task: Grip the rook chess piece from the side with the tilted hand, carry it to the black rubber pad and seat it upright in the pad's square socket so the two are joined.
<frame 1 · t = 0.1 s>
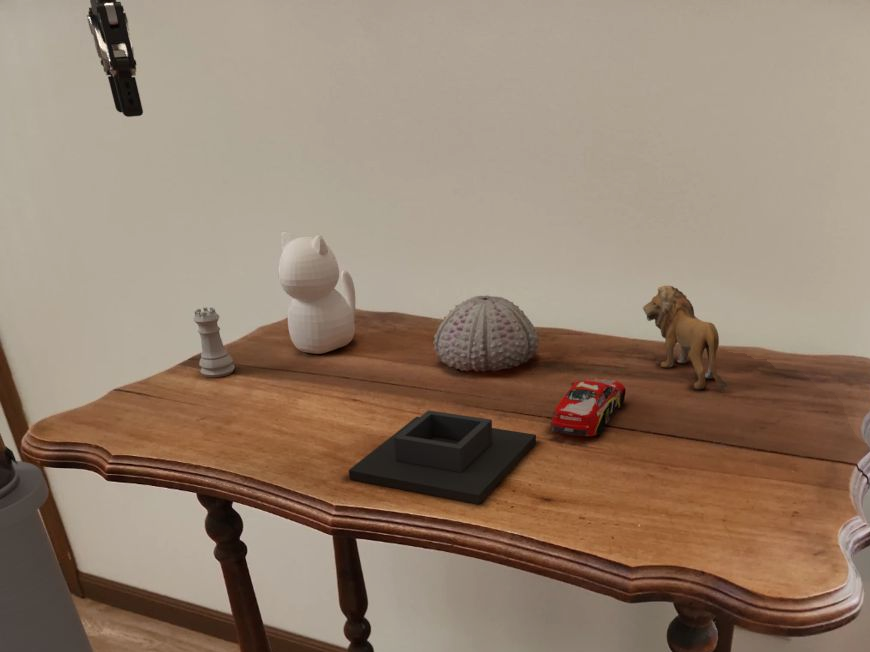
hand: (129, 113, 95), 29 cm above the table, tool pointing down, fingers open, 8 cm apart
lion figurine: (681, 373, 98), on the table
sea urchin shell: (487, 363, 104), on the table
cat figurine: (328, 346, 113), on the table
race car: (589, 419, 88), on the table
socket pad: (445, 460, 81), on the table
rook chess piece: (218, 373, 106), on the table
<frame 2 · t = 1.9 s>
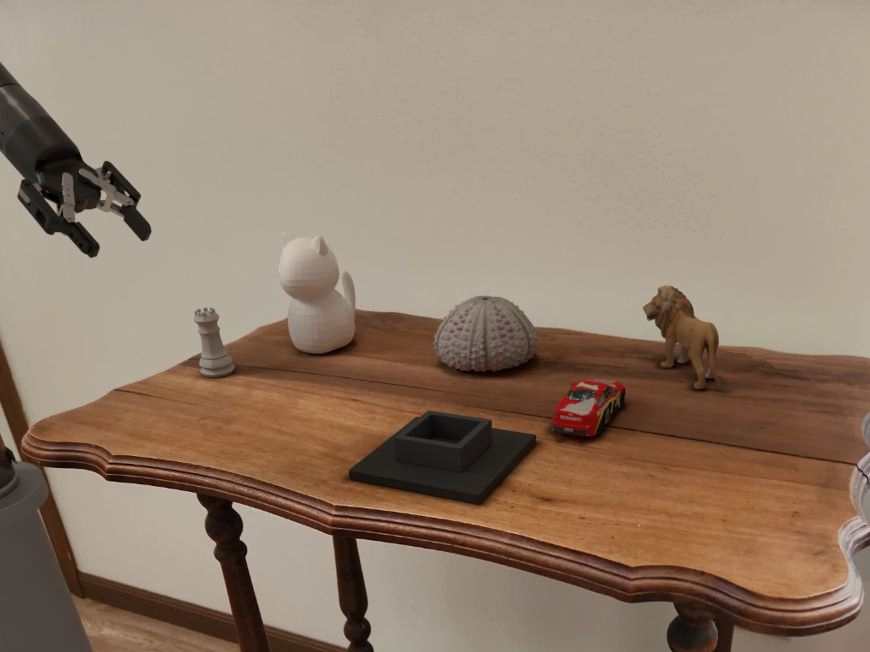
hand: (122, 244, 102), 15 cm above the table, tool tilted 45°, fingers open, 8 cm apart
nothing on the table moved.
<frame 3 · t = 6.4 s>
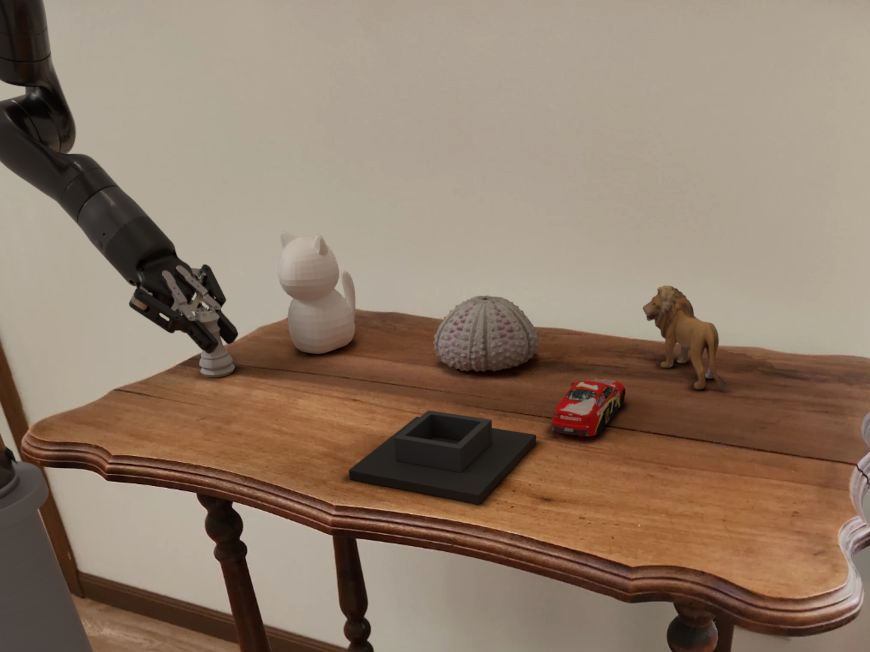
hand: (224, 343, 103), 4 cm above the table, tool tilted 45°, fingers closed on rook chess piece, 3 cm apart
rook chess piece: (218, 373, 106), on the table, touching gripper
everything else where it was.
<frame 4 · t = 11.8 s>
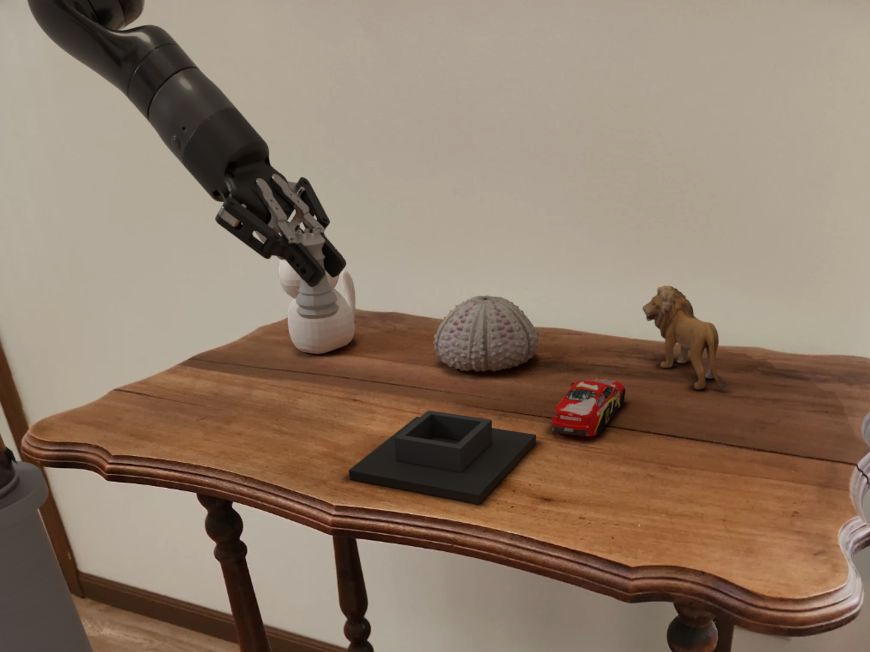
hand: (329, 275, 81), 16 cm above the table, tool tilted 45°, fingers closed on rook chess piece, 3 cm apart
rook chess piece: (318, 315, 85), point 12 cm above the table, touching gripper
everything else where it was.
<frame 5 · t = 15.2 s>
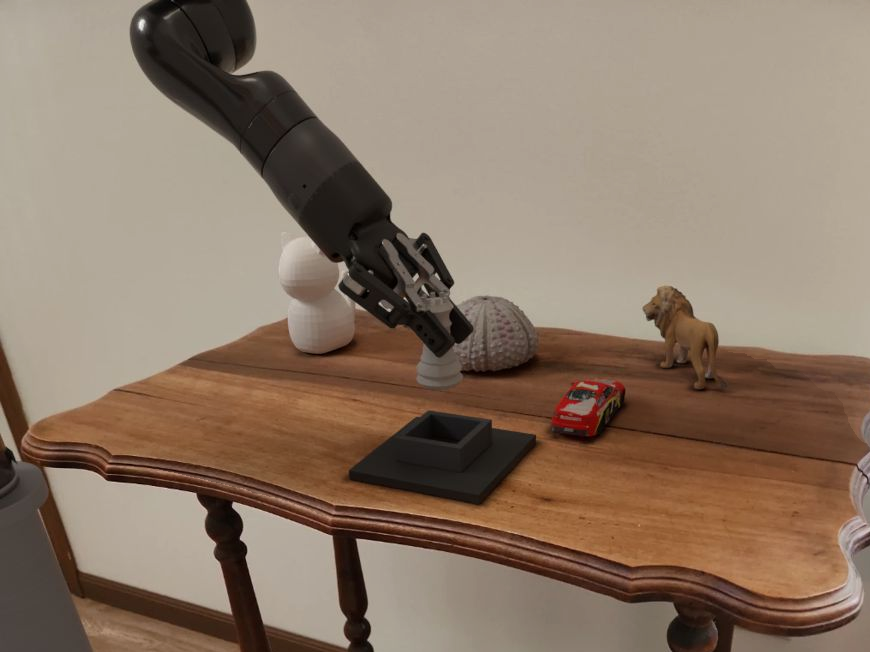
hand: (456, 343, 74), 12 cm above the table, tool tilted 45°, fingers closed on rook chess piece, 3 cm apart
rook chess piece: (440, 384, 77), point 8 cm above the table, touching gripper
everything else where it was.
when the fingers open (5 cm above the table, at t = 17.5 s): rook chess piece stays where it is, resting on socket pad.
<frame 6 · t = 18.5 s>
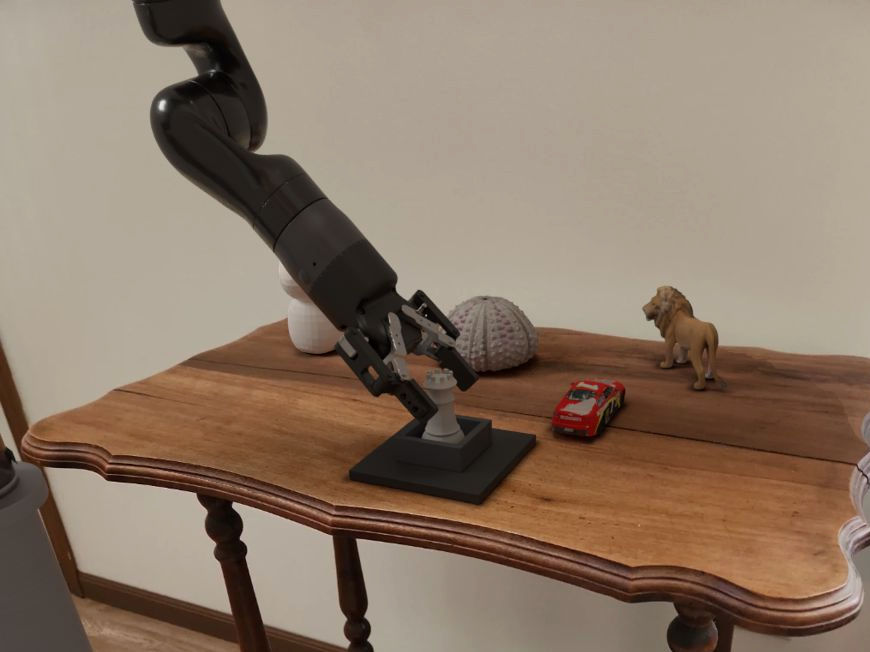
hand: (452, 401, 77), 6 cm above the table, tool tilted 45°, fingers open, 8 cm apart
rook chess piece: (443, 452, 81), point 1 cm above the table, touching socket pad
everything else where it was.
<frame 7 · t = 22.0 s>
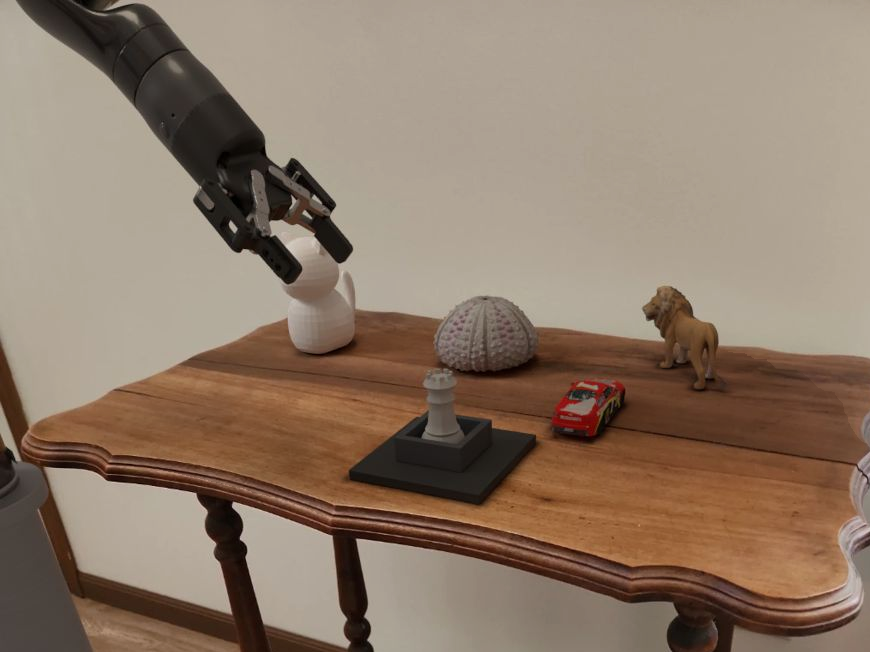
hand: (322, 267, 75), 18 cm above the table, tool tilted 45°, fingers open, 8 cm apart
nothing on the table moved.
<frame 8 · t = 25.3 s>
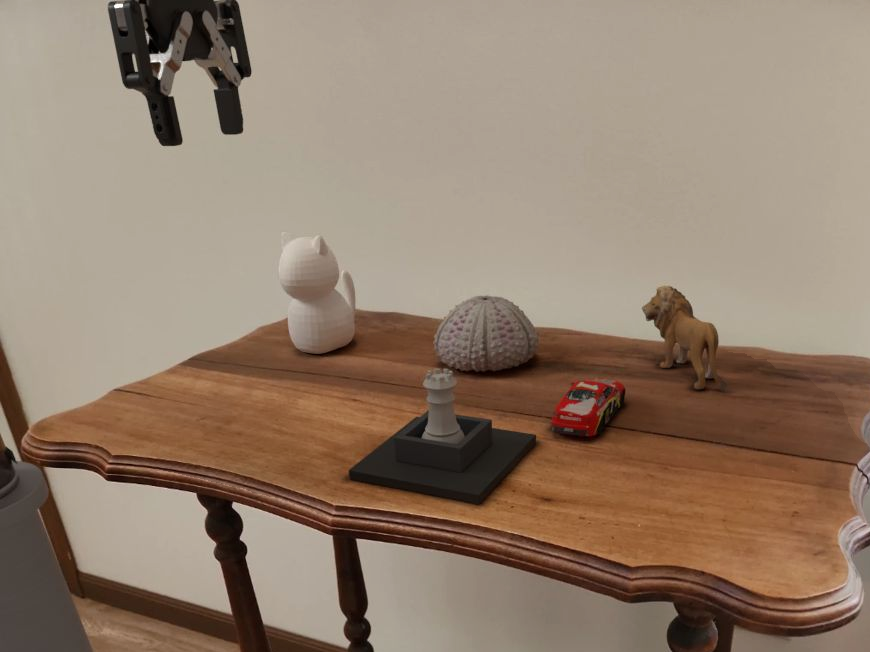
hand: (203, 139, 75), 28 cm above the table, tool pointing down, fingers open, 8 cm apart
nothing on the table moved.
at the end: rook chess piece 0.2 cm off-centre on the socket pad, point 0.8 cm above the socket pad's base; rook chess piece tilted 0°; the gripper is holding nothing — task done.
